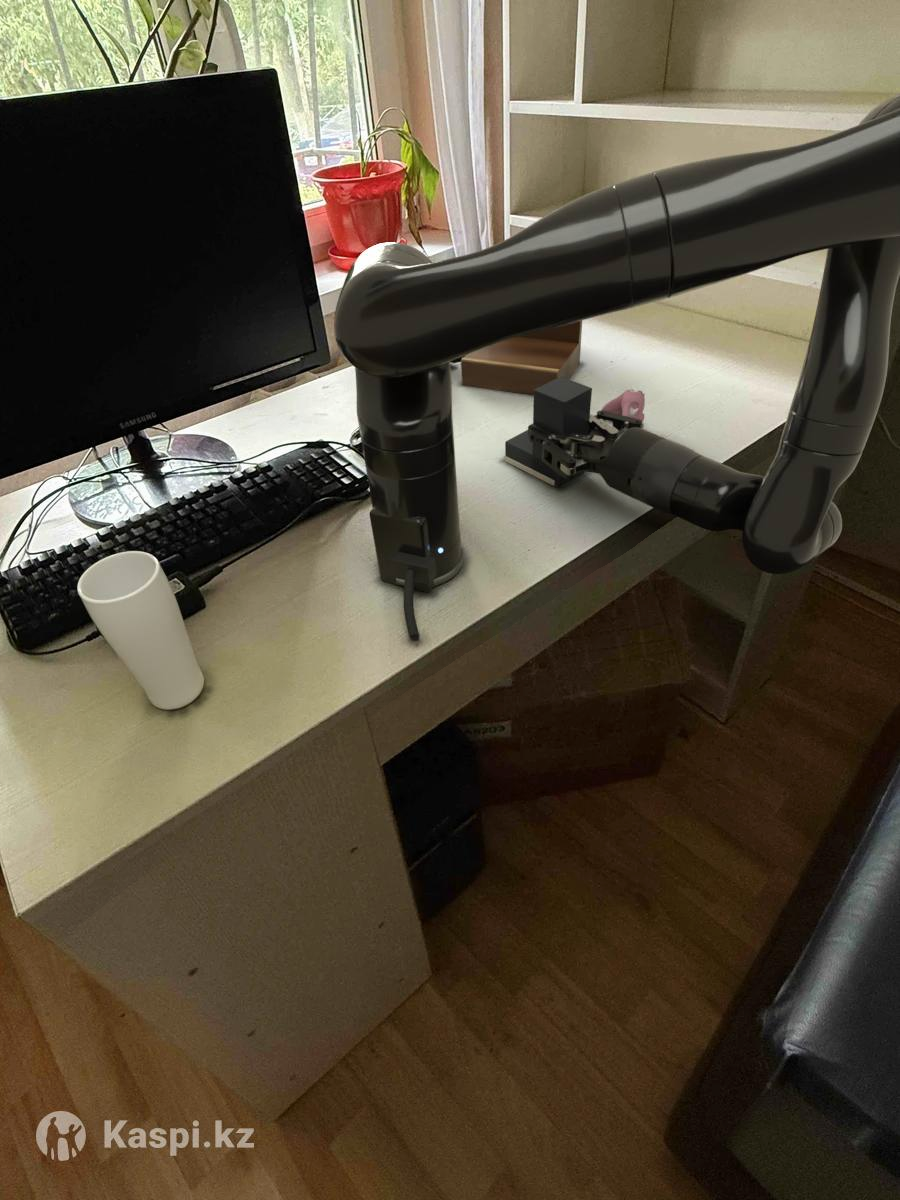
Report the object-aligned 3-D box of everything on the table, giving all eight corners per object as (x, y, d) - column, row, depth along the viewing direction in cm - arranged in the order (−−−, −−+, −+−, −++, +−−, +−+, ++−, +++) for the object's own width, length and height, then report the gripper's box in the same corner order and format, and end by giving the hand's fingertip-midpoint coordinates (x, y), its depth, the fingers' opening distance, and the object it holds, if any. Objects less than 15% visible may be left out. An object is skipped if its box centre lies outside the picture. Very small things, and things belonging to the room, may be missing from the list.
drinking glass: (128, 700, 66) (58, 585, 56) (182, 656, 70) (126, 540, 60) (173, 729, 63) (108, 613, 53) (227, 681, 67) (176, 565, 57)
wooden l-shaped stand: (555, 398, 107) (559, 320, 99) (462, 385, 112) (457, 310, 104) (579, 364, 115) (584, 290, 107) (491, 353, 121) (489, 282, 113)
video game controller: (623, 460, 95) (653, 420, 90) (595, 446, 94) (623, 405, 90) (624, 425, 102) (652, 386, 97) (598, 412, 101) (624, 372, 97)
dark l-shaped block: (585, 472, 91) (592, 387, 83) (559, 488, 88) (564, 402, 80) (530, 446, 97) (531, 364, 88) (504, 460, 94) (503, 377, 86)
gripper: (697, 418, 79) (583, 376, 89) (618, 467, 72) (505, 416, 82) (686, 474, 84) (579, 428, 94) (611, 524, 78) (505, 470, 87)
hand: (545, 423), depth 88 cm, fingers closed on dark l-shaped block, 5 cm apart
